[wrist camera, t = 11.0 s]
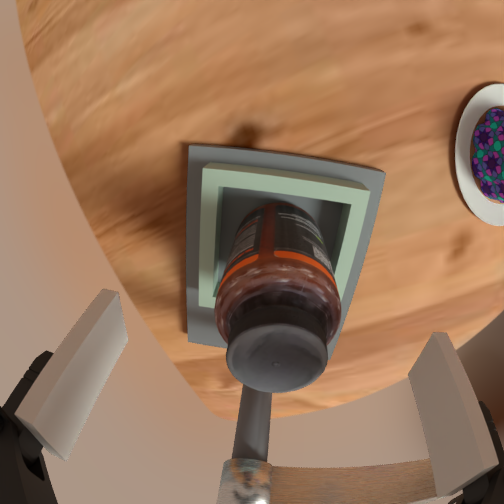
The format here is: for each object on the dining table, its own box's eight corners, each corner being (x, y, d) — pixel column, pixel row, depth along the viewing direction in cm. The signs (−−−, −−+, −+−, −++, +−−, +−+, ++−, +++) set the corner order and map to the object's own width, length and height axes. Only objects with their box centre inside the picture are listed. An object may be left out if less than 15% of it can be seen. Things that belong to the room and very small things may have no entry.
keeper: (222, 471, 14) (215, 513, 12) (224, 455, 13) (215, 503, 10) (421, 469, 14) (428, 504, 11) (443, 451, 13) (452, 489, 10)
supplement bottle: (228, 266, 22) (190, 390, 12) (246, 189, 20) (208, 282, 10) (307, 285, 23) (318, 414, 12) (333, 212, 20) (379, 321, 10)
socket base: (193, 143, 20) (75, 205, 8) (381, 169, 19) (493, 262, 7) (190, 334, 27) (147, 459, 16) (328, 352, 27) (341, 482, 15)
